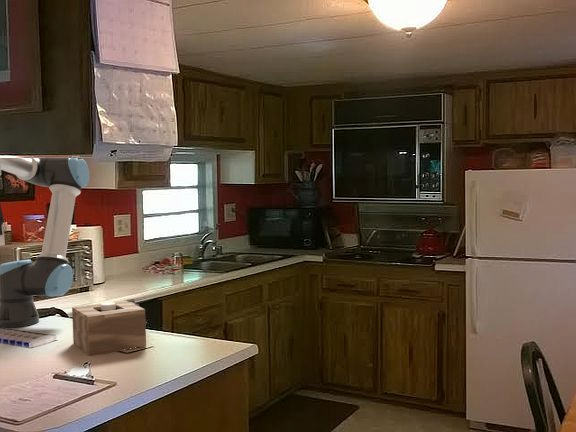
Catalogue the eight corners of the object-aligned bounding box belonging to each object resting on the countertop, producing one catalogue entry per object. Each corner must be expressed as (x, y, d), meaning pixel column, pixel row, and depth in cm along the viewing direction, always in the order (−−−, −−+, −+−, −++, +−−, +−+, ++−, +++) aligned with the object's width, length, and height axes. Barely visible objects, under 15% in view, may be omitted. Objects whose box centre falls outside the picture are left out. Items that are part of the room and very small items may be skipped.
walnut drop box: (73, 343, 224) (72, 307, 223) (127, 335, 233) (125, 300, 232) (89, 355, 208) (88, 316, 208) (146, 346, 218) (145, 309, 217)
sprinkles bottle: (102, 343, 223) (101, 302, 222) (116, 342, 224) (115, 301, 223) (101, 346, 219) (100, 305, 218) (116, 345, 220) (115, 304, 219)
